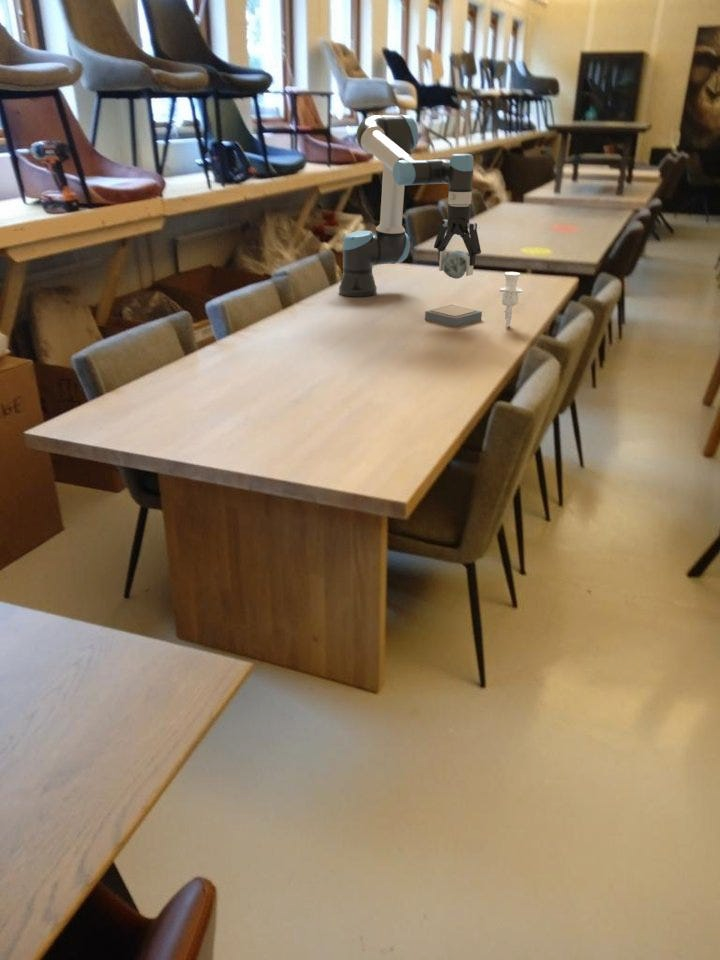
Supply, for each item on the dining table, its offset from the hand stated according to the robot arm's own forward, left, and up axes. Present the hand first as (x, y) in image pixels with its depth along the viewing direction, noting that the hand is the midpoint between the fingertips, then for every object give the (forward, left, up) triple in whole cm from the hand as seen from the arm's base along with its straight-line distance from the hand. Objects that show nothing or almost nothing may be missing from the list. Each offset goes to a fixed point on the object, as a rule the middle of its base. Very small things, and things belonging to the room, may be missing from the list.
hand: (455, 272), depth 256 cm
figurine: (+19, +6, -16) cm, 26 cm away
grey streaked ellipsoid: (0, 0, -1) cm, 1 cm away
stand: (0, 0, -16) cm, 16 cm away
